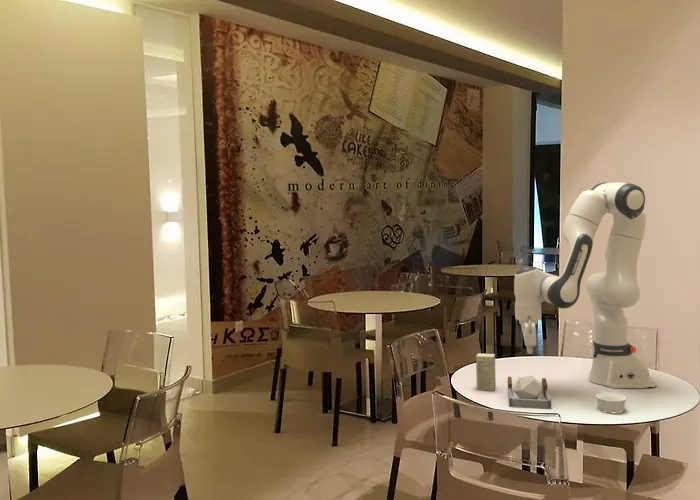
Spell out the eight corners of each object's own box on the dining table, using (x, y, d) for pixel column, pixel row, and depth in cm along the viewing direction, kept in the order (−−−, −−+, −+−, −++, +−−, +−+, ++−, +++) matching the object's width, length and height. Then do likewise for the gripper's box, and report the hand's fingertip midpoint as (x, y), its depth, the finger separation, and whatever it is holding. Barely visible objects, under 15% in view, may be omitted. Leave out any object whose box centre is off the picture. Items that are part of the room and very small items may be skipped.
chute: (545, 389, 233) (545, 378, 233) (547, 397, 225) (547, 385, 224) (507, 387, 236) (507, 376, 235) (508, 395, 227) (508, 383, 227)
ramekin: (594, 412, 210) (595, 398, 210) (596, 403, 218) (597, 390, 218) (625, 415, 206) (625, 402, 206) (626, 407, 215) (626, 394, 214)
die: (541, 407, 217) (549, 380, 220) (520, 396, 215) (528, 368, 219) (527, 408, 224) (535, 382, 228) (506, 397, 223) (514, 371, 226)
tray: (547, 397, 224) (548, 390, 224) (551, 408, 213) (551, 401, 213) (508, 395, 227) (508, 388, 227) (509, 406, 216) (509, 398, 216)
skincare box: (495, 387, 236) (496, 353, 235) (494, 391, 232) (494, 356, 230) (477, 386, 238) (477, 352, 237) (475, 389, 234) (475, 355, 233)
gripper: (539, 320, 221) (541, 360, 223) (535, 307, 241) (537, 345, 242) (520, 320, 222) (521, 361, 224) (517, 308, 242) (519, 345, 244)
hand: (529, 352), depth 233 cm, fingers closed
